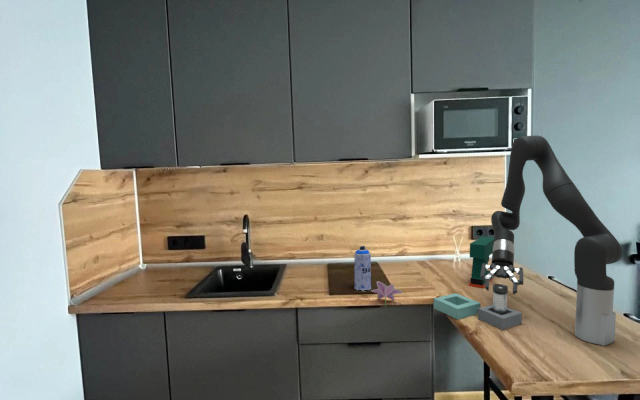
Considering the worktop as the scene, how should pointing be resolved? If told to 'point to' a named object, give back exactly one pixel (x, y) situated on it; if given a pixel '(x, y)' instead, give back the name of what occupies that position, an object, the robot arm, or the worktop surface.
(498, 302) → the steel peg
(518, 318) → the socket block
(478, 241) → the power tool
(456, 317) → the teal square tray
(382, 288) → the lily
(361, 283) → the aerosol can
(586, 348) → the worktop surface
